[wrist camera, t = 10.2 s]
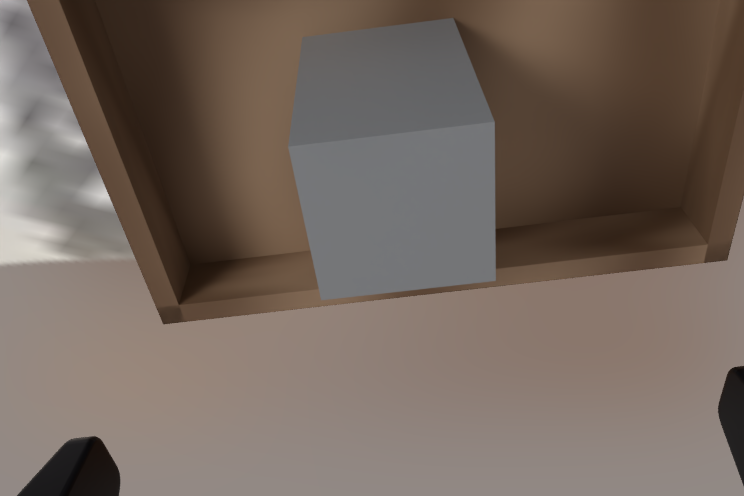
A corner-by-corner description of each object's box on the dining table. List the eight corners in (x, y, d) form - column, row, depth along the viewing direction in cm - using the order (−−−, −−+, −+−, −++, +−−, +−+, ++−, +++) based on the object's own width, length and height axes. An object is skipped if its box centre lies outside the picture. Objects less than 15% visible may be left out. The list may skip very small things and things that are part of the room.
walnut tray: (776, -193, 16) (839, -183, 14) (692, 213, 22) (727, 260, 20) (41, -89, 16) (-1, -65, 14) (178, 273, 23) (163, 324, 21)
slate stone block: (453, 17, 18) (494, 121, 13) (458, 151, 20) (495, 280, 15) (302, 37, 18) (287, 146, 13) (326, 167, 20) (321, 300, 15)
